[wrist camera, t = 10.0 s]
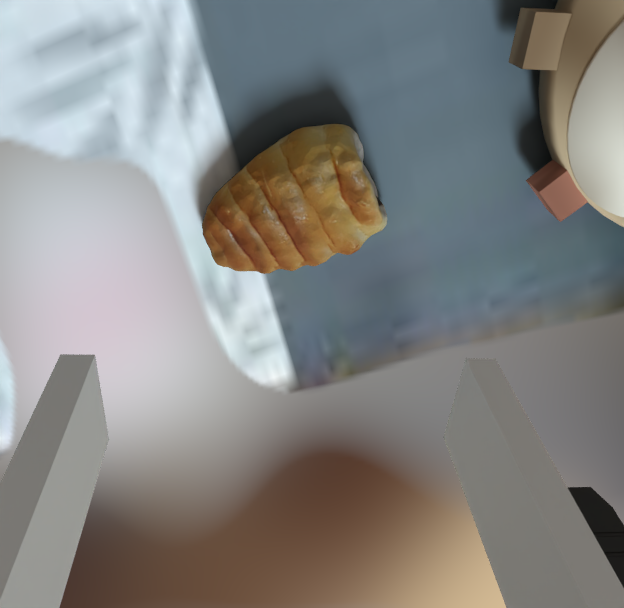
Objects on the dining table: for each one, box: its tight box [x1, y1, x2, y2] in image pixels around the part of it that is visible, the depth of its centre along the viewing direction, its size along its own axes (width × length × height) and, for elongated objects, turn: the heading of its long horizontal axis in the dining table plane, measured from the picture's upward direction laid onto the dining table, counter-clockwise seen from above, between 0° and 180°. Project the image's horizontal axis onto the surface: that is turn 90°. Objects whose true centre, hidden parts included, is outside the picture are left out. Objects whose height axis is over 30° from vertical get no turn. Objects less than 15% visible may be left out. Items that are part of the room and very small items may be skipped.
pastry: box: [202, 124, 387, 274], centre depth 28 cm, size 9×7×4 cm
